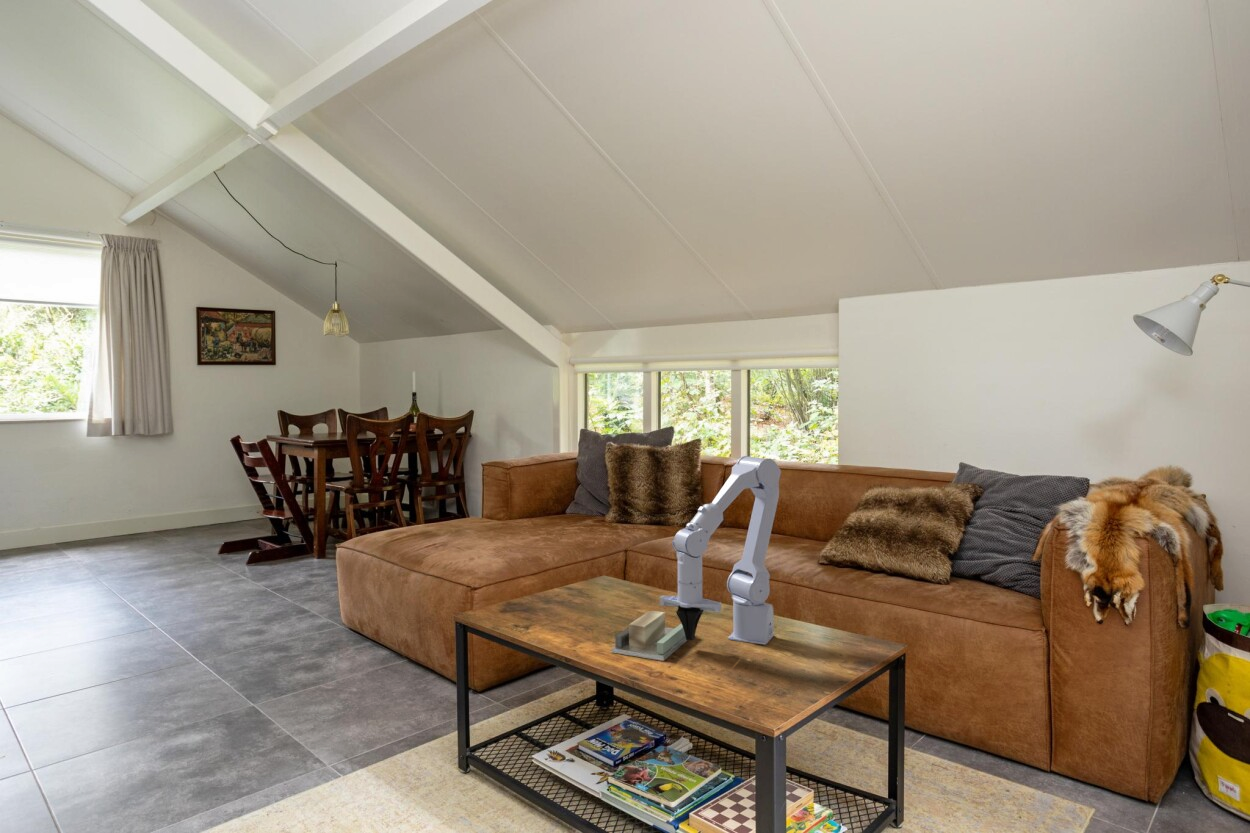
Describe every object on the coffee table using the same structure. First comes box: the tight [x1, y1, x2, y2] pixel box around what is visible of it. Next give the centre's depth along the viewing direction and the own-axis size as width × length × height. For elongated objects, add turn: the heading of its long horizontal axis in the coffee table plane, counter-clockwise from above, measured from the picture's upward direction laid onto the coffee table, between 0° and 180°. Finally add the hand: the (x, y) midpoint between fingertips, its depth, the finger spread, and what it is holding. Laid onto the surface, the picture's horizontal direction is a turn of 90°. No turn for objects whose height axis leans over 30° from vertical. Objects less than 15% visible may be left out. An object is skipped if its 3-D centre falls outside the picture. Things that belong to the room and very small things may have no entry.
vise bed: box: [611, 626, 688, 662], centre depth 178 cm, size 13×19×4 cm
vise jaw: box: [657, 622, 685, 654], centre depth 176 cm, size 2×17×2 cm, turn 154°
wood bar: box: [628, 609, 666, 648], centre depth 179 cm, size 4×12×5 cm, turn 154°
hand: (690, 639), depth 174 cm, fingers closed
